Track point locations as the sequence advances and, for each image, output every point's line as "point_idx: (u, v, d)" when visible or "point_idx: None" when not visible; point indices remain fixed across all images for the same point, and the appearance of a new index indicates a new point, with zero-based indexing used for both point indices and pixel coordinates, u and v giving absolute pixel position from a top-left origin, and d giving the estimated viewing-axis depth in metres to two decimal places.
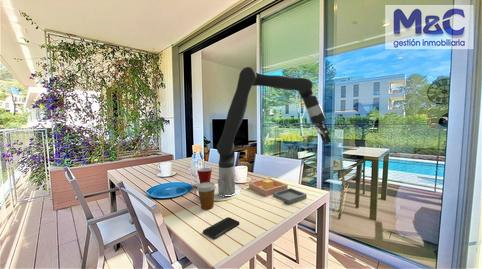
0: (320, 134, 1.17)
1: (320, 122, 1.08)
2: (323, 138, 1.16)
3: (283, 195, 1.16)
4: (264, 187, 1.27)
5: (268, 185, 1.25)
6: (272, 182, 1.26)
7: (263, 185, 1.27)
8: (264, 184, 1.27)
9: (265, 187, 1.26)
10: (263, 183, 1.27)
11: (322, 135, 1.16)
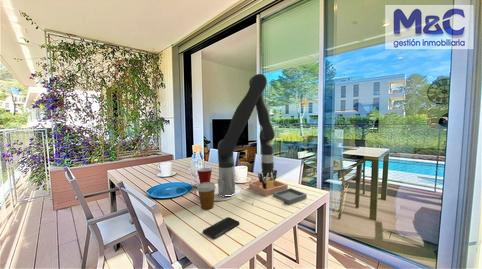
0: None
1: (262, 169, 1.25)
2: None
3: (283, 195, 1.16)
4: None
5: (268, 185, 1.25)
6: (272, 182, 1.26)
7: None
8: None
9: None
10: None
11: None
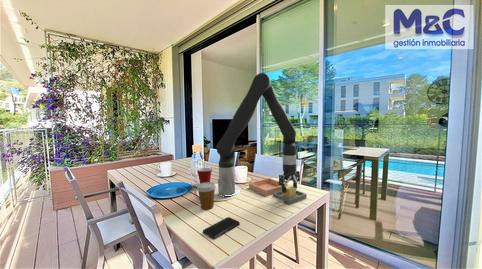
0: (293, 182, 1.18)
1: (284, 172, 1.12)
2: None
3: None
4: (285, 195, 1.14)
5: (290, 193, 1.12)
6: (294, 189, 1.14)
7: None
8: None
9: (287, 195, 1.13)
10: None
11: (294, 184, 1.17)
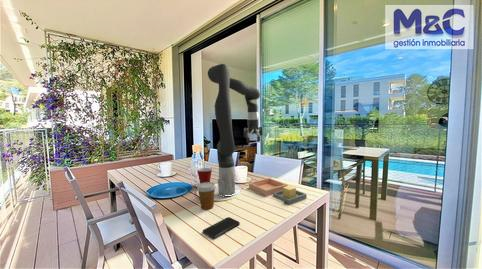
0: None
1: (248, 126, 1.38)
2: (257, 140, 1.43)
3: None
4: (285, 195, 1.14)
5: (290, 193, 1.12)
6: (294, 189, 1.14)
7: (284, 192, 1.15)
8: (285, 192, 1.14)
9: (287, 195, 1.13)
10: (284, 190, 1.14)
11: (257, 137, 1.43)
